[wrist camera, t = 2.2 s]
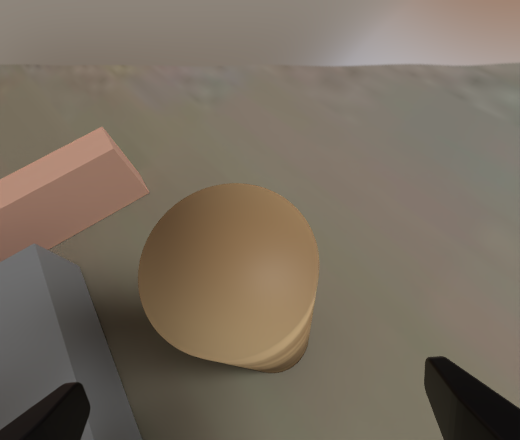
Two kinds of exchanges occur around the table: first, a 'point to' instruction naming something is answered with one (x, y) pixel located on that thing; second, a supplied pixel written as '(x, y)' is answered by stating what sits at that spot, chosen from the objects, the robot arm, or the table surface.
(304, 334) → the oak dowel
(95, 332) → the socket block
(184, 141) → the table surface
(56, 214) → the backstop wall
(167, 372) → the table surface
